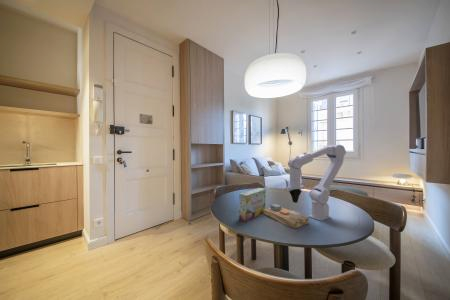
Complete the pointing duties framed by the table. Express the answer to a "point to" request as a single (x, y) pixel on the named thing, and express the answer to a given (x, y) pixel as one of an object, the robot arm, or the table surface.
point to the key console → (286, 218)
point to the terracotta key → (284, 212)
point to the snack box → (251, 204)
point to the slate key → (276, 207)
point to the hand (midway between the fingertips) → (295, 202)
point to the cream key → (295, 215)
